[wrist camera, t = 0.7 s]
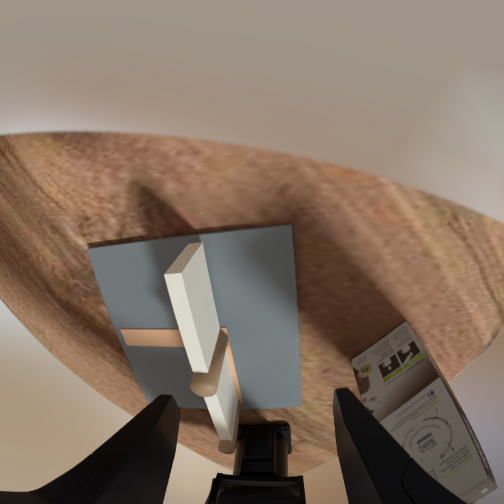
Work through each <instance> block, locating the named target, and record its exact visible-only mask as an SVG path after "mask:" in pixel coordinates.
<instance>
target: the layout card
mask: <svg viewBox="0 0 504 504" xmlns="http://www.w3.org/2000/svg"><path fill="white" fill-rule="evenodd" d="M199 242H203V247H204V252H205V258H206V263H207V268H208V273H209V278H210V283H211V288H212V293H213V298H214V302H215V307H216V312H217V316H218V321H219V326H220V329H221V330H223V331H224V332H225V333H226V334H227V335H228V343H227V347H226V352H227V356H228V361H229V365H230V369H231V373H232V377H233V381H234V386H235V390H236V394H237V398H238V400H239V401H240V402H241V408H240V409H272V408H288V407H301V406H302V402H301V366H300V342H299V321H298V304H297V288H296V273H295V260H294V247H293V235H292V225H291V224H286V225H276V226H266V227H256V228H246V229H236V230H227V231H218V232H209V233H200V234H191V235H183V236H174V237H166V238H158V239H150V240H142V241H134V242H126V243H119V244H111V245H104V246H96V247H90V248H88V252H89V256H90V259H91V263H92V266H93V269H94V272H95V276H96V279H97V282H98V285H99V288H100V291H101V294H102V296H103V299H104V302H105V305H106V308H107V310H108V313H109V316H110V318H111V321H112V323H113V326H114V328H115V331H116V333H117V336H118V338H119V341H120V343H121V345H122V348H123V350H124V352H125V354H126V357H127V359H128V361H129V363H130V365H131V368H132V370H133V372H134V374H135V376H136V378H137V380H138V382H139V384H140V386H141V388H142V390H143V392H144V394H145V396H146V398H147V400H148V402H149V404H150V403H151V402H152V401H153V400H154V399H155V398H156V397H157V396H159V395H160V394H171V395H173V396H174V398H175V400H176V403H177V405H178V407H179V408H195V409H208V407H207V404H206V402H205V399H204V397H202V396H199V395H197V394H195V393H194V392H193V391H192V390H191V389H190V383H191V380H192V376H193V373H194V372H193V370H192V368H191V365H190V362H189V359H188V356H187V352H186V349H185V346H184V343H183V340H182V337H181V333H180V330H179V327H178V323H177V320H176V317H175V313H174V310H173V306H172V303H171V299H170V295H169V292H168V288H167V284H166V280H165V276H164V274H165V273H166V271H167V270H168V269H169V267H170V266H171V265H172V264H173V262H174V261H175V260H176V259H177V257H178V256H179V255H180V254H181V252H182V251H183V250H184V249H185V247H186V246H187V245H188V244H190V243H199Z"/></svg>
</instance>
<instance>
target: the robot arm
mask: <svg viewBox="0 0 504 504" xmlns="http://www.w3.org/2000/svg"><path fill="white" fill-rule="evenodd" d="M333 415H334V425H335V435H336V445H337V452H338V457H339V461H340V466H341V470H342V475H343V479H344V484H345V488H346V493H347V497H348V502H349V504H467V503H466V502H465V501H463V500H462V499H460V498H459V497H458V496H456V495H455V494H454V493H452V492H451V491H450V490H448V489H447V488H446V487H444V486H443V485H442V484H440V483H439V482H438V481H437V480H435V479H434V478H433V477H432V476H431V475H429V474H428V473H427V472H426V471H425V470H424V469H423V468H422V467H421V466H420V465H419V464H418V463H417V462H416V461H415V460H414V459H413V458H412V457H410V455H409V453H408V452H407V451H406V450H405V449H404V448H403V447H402V446H401V445H400V444H399V443H398V442H397V441H396V440H395V439H394V437H393V436H392V435H391V434H390V433H389V432H388V431H387V430H386V429H385V428H384V427H383V426H382V424H381V423H380V422H379V421H378V420H377V419H376V418H375V417H374V416H373V415H372V414H371V412H370V411H369V410H368V409H367V408H366V407H365V406H364V405H363V404H362V403H361V402H360V400H359V399H358V398H357V397H356V396H355V395H354V394H353V393H352V392H351V391H350V389H349V388H338V389H335V391H334V399H333ZM179 422H180V409H179V407H178V405H177V403H176V400H175V398H174V396H173V395H171V394H160V395H159V396H157V397H156V398H155V399H154V400H153V401H152V402H151V403H150V404H148V405H147V406H146V407H145V408H144V409H143V410H142V411H141V412H139V413H138V414H137V415H136V416H135V417H134V418H133V419H131V420H130V421H129V422H128V423H127V424H126V425H124V426H123V427H122V428H121V429H120V430H119V431H118V432H116V433H115V434H114V435H113V436H112V437H111V438H109V439H108V440H107V441H106V442H105V443H103V444H102V445H101V446H100V447H99V448H97V449H96V450H95V451H94V452H93V453H92V454H90V455H89V456H87V457H86V458H85V459H84V460H83V461H81V462H80V463H79V464H77V465H76V466H75V467H73V468H72V469H71V470H69V471H67V472H66V473H64V474H63V475H61V476H59V477H58V478H56V479H54V480H53V481H51V482H50V483H48V484H46V485H44V486H43V487H41V488H39V489H36V490H33V491H29V492H8V491H0V504H163V501H164V497H165V492H166V488H167V485H168V481H169V477H170V473H171V469H172V464H173V460H174V457H175V452H176V445H177V437H178V429H179ZM235 447H236V454H235V462H234V470H233V475H227V474H223V473H217V476H216V478H213V480H212V486H211V490H210V493H209V496H208V498H207V500H206V502H205V504H306V499H305V490H304V481H303V475H300V476H292V477H288V454H290V453H291V452H292V448H291V432H290V425H289V424H277V425H238V431H237V438H236V446H235Z"/></svg>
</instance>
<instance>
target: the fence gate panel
mask: <svg viewBox="0 0 504 504" xmlns="http://www.w3.org/2000/svg"><path fill="white" fill-rule="evenodd" d="M164 276H165V280H166V284H167V288H168V292H169V295H170V299H171V303H172V306H173V310H174V313H175V317H176V320H177V323H178V327H179V330H180V333H181V337H182V340H183V343H184V346H185V349H186V352H187V356H188V359H189V362H190V365H191V368H192V370H193V372H194V373H208V371H209V367H210V364H211V360H212V356H213V353H214V349H215V345H216V342H217V338H218V334H219V331H220V326H219V321H218V316H217V312H216V307H215V302H214V298H213V293H212V288H211V283H210V278H209V273H208V268H207V263H206V258H205V252H204V247H203V242H199V243H190V244H188V245H187V246H186V247H185V249H184V250H183V251H182V252H181V254H180V255H179V256H178V257H177V259H176V260H175V261H174V262H173V264H172V265H171V266H170V267H169V269H168V270H167V271H166V273H165V274H164Z"/></svg>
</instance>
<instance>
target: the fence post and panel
mask: <svg viewBox="0 0 504 504" xmlns="http://www.w3.org/2000/svg"><path fill="white" fill-rule="evenodd" d="M227 343H228V335H227V334H226V333H225V332H224V331H223V330H221V329H220V331H219V334H218V338H217V342H216V345H215V349H214V353H213V356H212V360H211V364H210V367H209V371H208V373H193V376H192V380H191V383H190V389H191V390H192V391H193V392H194V393H195V394H197V395H199V396H202V397H204V399H205V402H206V404H207V407H208V410H209V412H210V415H211V418H212V420H213V423H214V425H215V428H216V431H217V433H218V435H219V438H220V442H219V447H218V450H219V451H220V452H222V453H226V454H231V453H234V452H235V446H236V438H237V431H238V423H239V415H240V408H241V402H240V401H239V400H238V398H237V394H236V390H235V386H234V381H233V377H232V373H231V369H230V365H229V361H228V356H227V352H226V347H227Z"/></svg>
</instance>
